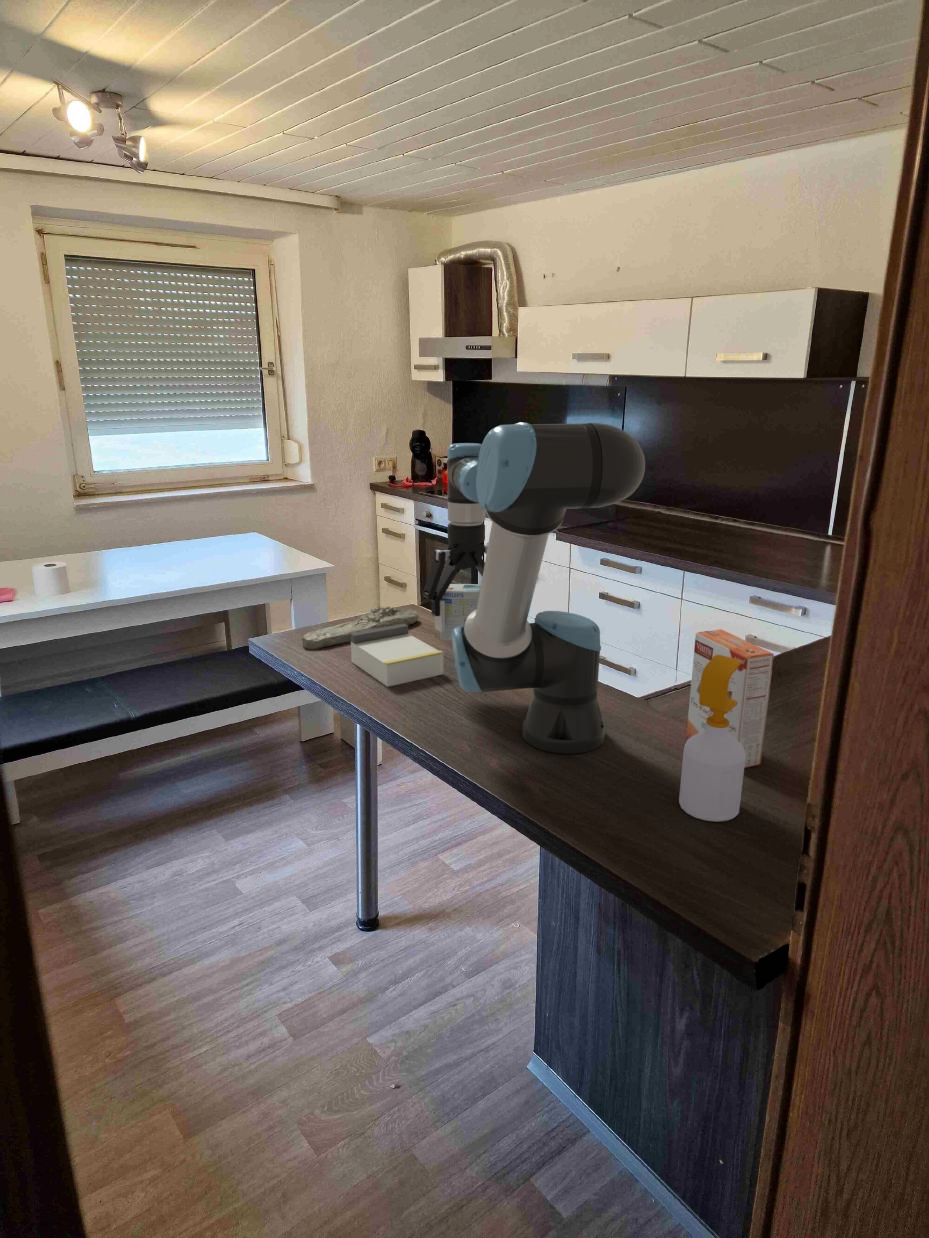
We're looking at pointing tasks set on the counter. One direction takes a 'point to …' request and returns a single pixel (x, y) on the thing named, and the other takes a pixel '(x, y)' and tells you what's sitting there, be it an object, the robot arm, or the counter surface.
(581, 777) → the counter surface
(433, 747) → the counter surface
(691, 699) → the cracker box
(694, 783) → the soap bottle
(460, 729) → the counter surface
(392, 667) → the platform
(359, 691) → the counter surface
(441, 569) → the robot arm
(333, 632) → the elongated rock
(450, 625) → the light bulb box
